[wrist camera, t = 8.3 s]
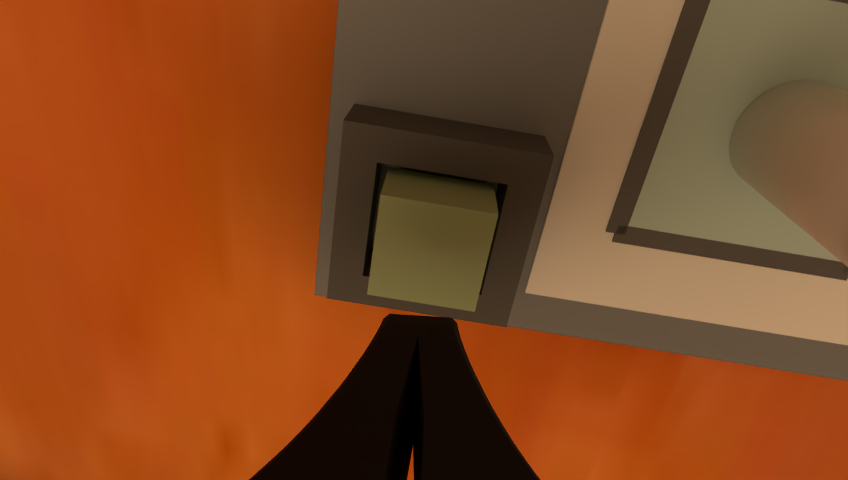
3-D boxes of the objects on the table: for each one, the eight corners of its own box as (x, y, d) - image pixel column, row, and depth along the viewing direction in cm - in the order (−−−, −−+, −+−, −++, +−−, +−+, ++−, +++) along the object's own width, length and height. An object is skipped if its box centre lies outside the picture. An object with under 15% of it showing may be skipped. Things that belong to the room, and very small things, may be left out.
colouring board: (1283, -261, 12) (1472, -308, 10) (860, 370, 21) (911, 423, 18) (381, -439, 12) (362, -535, 9) (319, 282, 20) (301, 325, 18)
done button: (493, 185, 16) (498, 214, 14) (472, 274, 17) (474, 311, 15) (389, 167, 16) (380, 194, 14) (376, 258, 17) (367, 294, 15)
